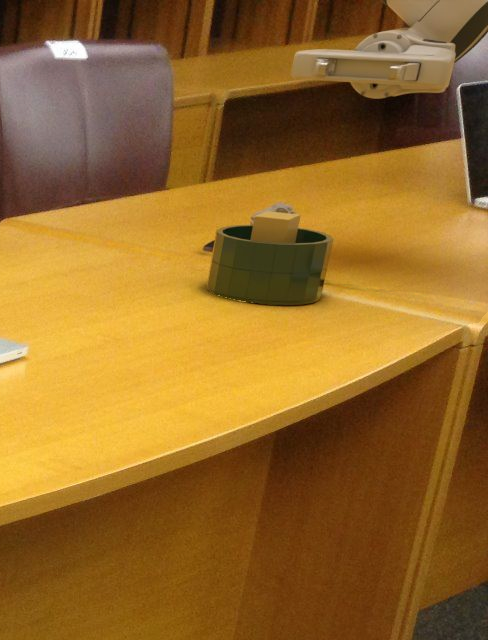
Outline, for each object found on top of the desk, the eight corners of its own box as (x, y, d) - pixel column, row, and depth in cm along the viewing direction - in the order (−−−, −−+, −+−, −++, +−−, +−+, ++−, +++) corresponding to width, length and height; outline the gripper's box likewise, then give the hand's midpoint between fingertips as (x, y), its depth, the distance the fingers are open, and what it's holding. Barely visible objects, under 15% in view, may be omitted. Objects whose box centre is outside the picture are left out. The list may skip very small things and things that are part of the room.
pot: (333, 291, 212) (346, 232, 208) (301, 310, 201) (314, 248, 198) (227, 277, 220) (237, 220, 216) (190, 295, 210) (201, 235, 206)
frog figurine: (281, 254, 236) (292, 208, 233) (237, 247, 240) (247, 201, 237) (296, 249, 240) (307, 203, 237) (253, 241, 244) (263, 196, 241)
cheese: (286, 289, 211) (300, 214, 207) (274, 295, 208) (289, 219, 203) (252, 284, 214) (266, 211, 209) (240, 290, 210) (254, 215, 206)
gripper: (312, 37, 220) (282, 42, 210) (468, 43, 208) (444, 49, 199) (303, 84, 223) (273, 91, 213) (457, 92, 211) (432, 101, 202)
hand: (357, 71), depth 206 cm, fingers open, 8 cm apart
